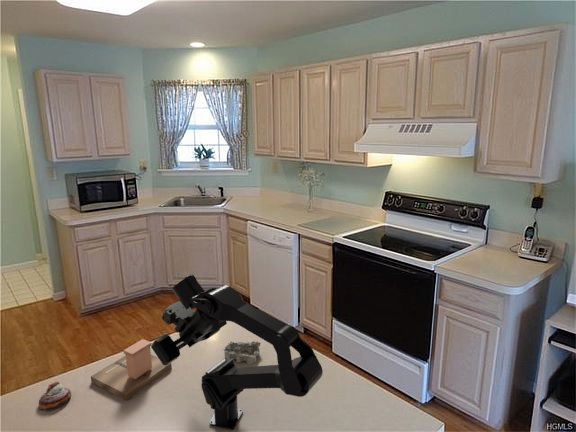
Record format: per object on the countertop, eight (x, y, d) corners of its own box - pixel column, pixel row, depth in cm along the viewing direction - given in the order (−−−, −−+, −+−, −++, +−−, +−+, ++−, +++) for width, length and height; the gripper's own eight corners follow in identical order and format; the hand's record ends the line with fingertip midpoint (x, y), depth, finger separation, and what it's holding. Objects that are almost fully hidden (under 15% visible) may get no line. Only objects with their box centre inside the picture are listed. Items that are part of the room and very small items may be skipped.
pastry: (62, 388, 111) (60, 372, 110) (78, 397, 107) (76, 381, 106) (32, 405, 104) (29, 389, 103) (48, 416, 100) (45, 399, 99)
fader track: (171, 368, 119) (171, 362, 119) (127, 400, 106) (126, 393, 105) (137, 354, 126) (136, 348, 126) (91, 382, 113) (90, 376, 112)
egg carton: (262, 353, 127) (262, 342, 126) (253, 367, 120) (252, 355, 119) (232, 347, 131) (231, 336, 130) (221, 360, 124) (221, 348, 123)
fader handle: (153, 367, 116) (151, 342, 114) (135, 380, 110) (132, 354, 108) (145, 364, 117) (142, 339, 115) (126, 376, 112) (123, 350, 110)
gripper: (208, 283, 107) (183, 312, 115) (151, 310, 91) (127, 342, 100) (233, 316, 104) (206, 344, 112) (179, 350, 89) (152, 380, 97)
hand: (174, 351), depth 105 cm, fingers open, 9 cm apart
